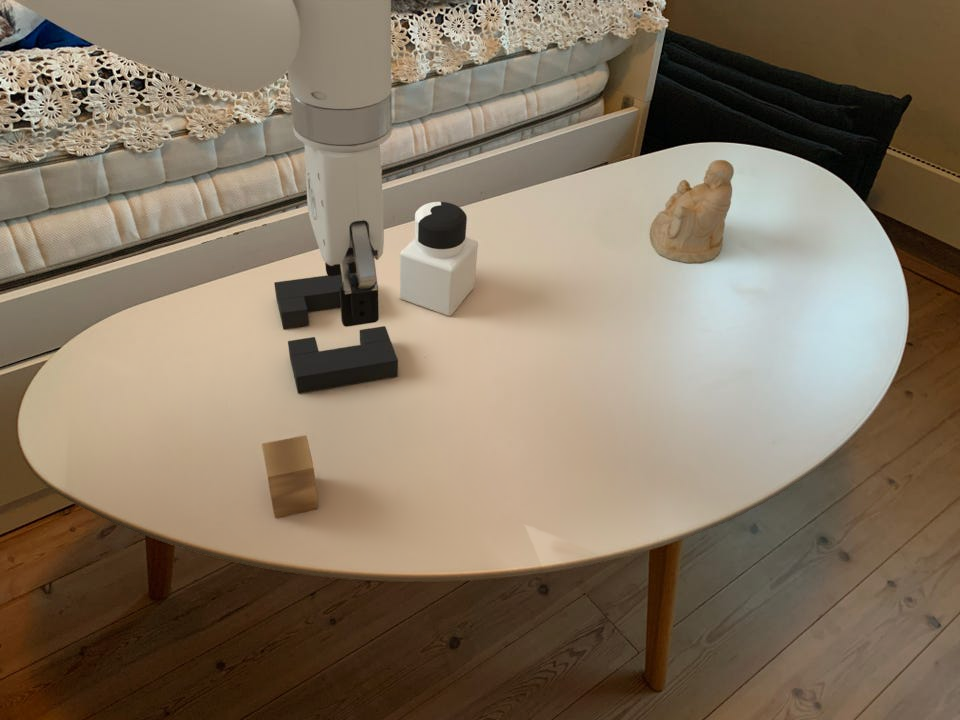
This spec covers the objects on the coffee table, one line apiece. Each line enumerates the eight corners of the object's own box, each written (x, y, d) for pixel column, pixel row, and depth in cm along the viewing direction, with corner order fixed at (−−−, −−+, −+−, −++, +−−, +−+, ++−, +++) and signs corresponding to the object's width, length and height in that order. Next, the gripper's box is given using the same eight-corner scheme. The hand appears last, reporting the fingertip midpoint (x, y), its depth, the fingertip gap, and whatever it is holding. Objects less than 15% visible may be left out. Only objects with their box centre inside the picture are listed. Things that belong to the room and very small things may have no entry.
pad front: (297, 394, 83) (295, 377, 82) (289, 357, 87) (287, 340, 86) (398, 376, 86) (398, 360, 85) (385, 342, 90) (385, 325, 89)
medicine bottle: (475, 287, 99) (482, 205, 91) (450, 318, 95) (455, 234, 86) (425, 270, 101) (428, 189, 93) (398, 299, 96) (398, 216, 88)
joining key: (274, 518, 71) (267, 476, 67) (269, 485, 74) (261, 443, 70) (318, 509, 72) (313, 467, 68) (311, 476, 75) (306, 434, 71)
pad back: (283, 329, 91) (281, 312, 89) (276, 298, 95) (274, 282, 93) (375, 315, 94) (375, 299, 92) (365, 286, 98) (364, 270, 96)
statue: (774, 204, 99) (705, 173, 98) (713, 284, 109) (649, 257, 107) (760, 160, 109) (697, 131, 107) (705, 237, 118) (646, 212, 116)
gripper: (276, 69, 64) (295, 249, 76) (311, 172, 52) (327, 366, 64) (366, 64, 66) (371, 239, 78) (419, 162, 54) (415, 351, 66)
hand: (351, 295), depth 71 cm, fingers open, 6 cm apart
